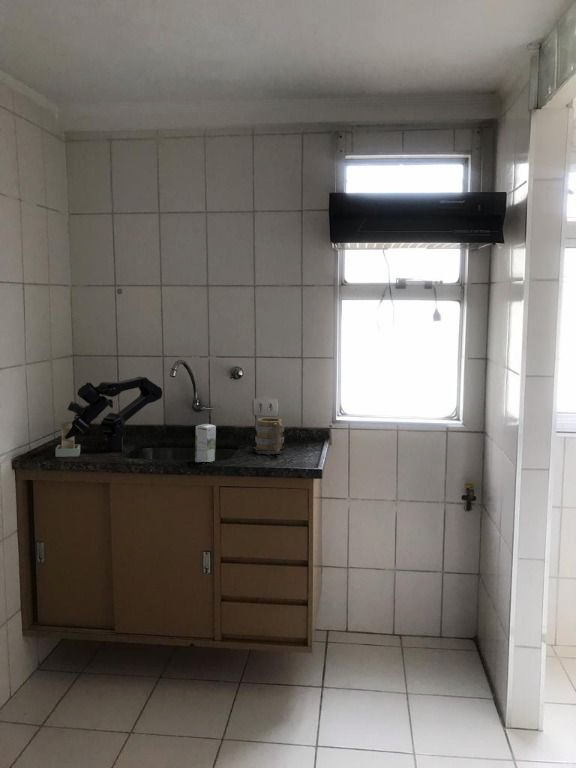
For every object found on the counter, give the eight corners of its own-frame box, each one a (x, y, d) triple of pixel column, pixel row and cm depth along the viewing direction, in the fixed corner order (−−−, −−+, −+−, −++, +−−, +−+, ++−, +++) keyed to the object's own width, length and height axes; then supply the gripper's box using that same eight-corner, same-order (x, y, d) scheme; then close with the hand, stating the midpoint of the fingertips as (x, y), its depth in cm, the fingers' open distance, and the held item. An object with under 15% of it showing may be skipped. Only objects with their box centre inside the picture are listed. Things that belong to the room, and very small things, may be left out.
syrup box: (203, 459, 260) (204, 423, 258) (215, 461, 257) (216, 425, 255) (194, 462, 255) (195, 425, 254) (206, 464, 252) (207, 427, 251)
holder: (80, 451, 269) (80, 444, 268) (78, 456, 260) (78, 448, 260) (58, 452, 267) (58, 444, 266) (55, 456, 258) (55, 449, 258)
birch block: (74, 452, 266) (74, 421, 265) (73, 455, 262) (73, 423, 260) (63, 453, 265) (62, 421, 264) (61, 455, 261) (61, 423, 259)
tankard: (251, 449, 281) (251, 415, 279) (279, 448, 285) (279, 414, 283) (264, 459, 262) (264, 422, 260) (293, 458, 266) (294, 422, 264)
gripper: (81, 391, 271) (53, 418, 269) (78, 397, 253) (48, 426, 251) (101, 410, 273) (74, 436, 272) (99, 417, 255) (70, 446, 254)
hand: (66, 436), depth 262 cm, fingers open, 9 cm apart
